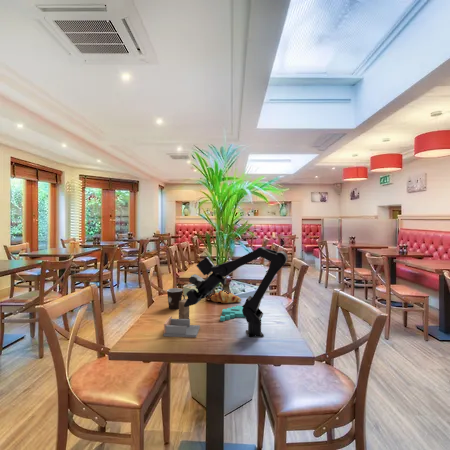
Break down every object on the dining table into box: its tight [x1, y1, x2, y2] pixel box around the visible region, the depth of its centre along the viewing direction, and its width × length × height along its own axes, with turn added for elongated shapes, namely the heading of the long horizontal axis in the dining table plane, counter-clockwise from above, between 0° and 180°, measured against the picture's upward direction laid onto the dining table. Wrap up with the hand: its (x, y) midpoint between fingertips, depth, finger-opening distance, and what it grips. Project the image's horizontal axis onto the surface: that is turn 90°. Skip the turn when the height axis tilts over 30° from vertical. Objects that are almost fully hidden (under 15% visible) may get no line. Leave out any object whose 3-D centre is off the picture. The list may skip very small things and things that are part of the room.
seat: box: [162, 315, 201, 338], centre depth 126 cm, size 14×11×5 cm
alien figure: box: [219, 305, 246, 322], centre depth 149 cm, size 20×2×20 cm
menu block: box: [178, 298, 190, 319], centre depth 136 cm, size 3×5×11 cm, turn 160°
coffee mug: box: [166, 287, 186, 311], centre depth 158 cm, size 12×9×10 cm
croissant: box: [210, 290, 242, 304], centre depth 173 cm, size 21×10×8 cm, turn 80°
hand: (189, 303), depth 135 cm, fingers open, 9 cm apart
